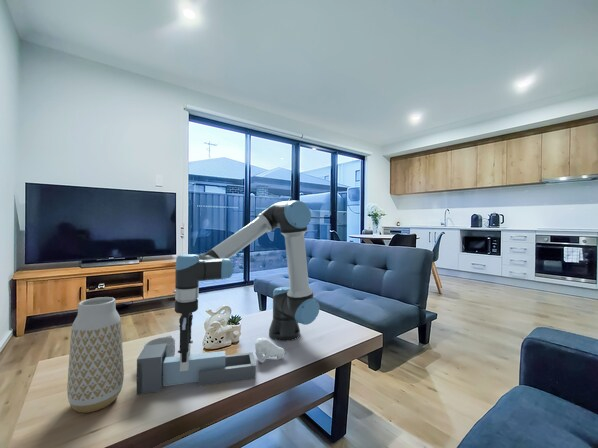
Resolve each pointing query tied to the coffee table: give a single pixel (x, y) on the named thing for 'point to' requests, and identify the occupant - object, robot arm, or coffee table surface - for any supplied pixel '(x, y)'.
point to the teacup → (163, 340)
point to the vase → (95, 356)
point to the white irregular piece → (267, 349)
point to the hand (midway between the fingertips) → (185, 366)
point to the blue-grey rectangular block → (190, 367)
